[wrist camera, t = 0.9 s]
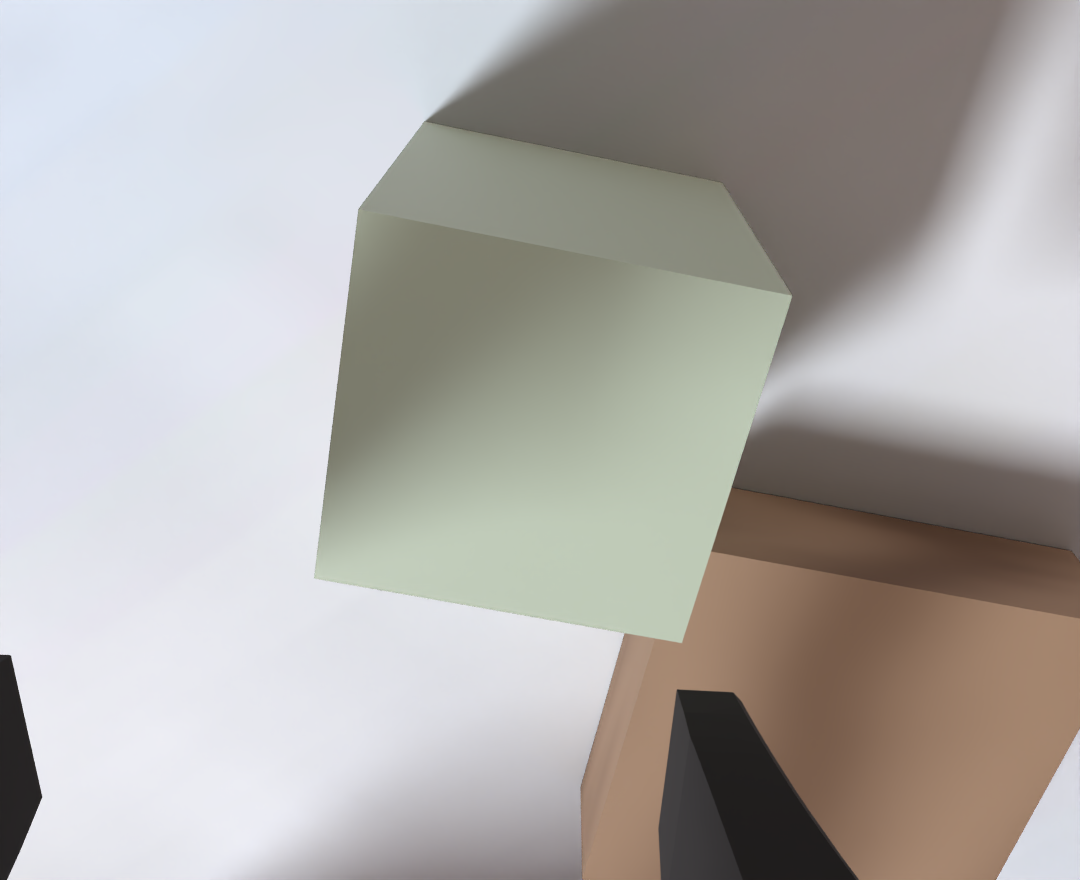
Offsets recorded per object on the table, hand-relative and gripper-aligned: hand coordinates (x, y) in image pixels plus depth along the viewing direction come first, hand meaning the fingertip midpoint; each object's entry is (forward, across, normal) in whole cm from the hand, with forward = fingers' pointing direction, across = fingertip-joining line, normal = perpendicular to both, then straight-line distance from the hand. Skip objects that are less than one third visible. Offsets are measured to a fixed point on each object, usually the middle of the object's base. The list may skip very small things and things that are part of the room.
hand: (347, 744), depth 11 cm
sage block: (+9, -2, -2) cm, 9 cm away
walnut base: (+9, -8, +6) cm, 13 cm away
